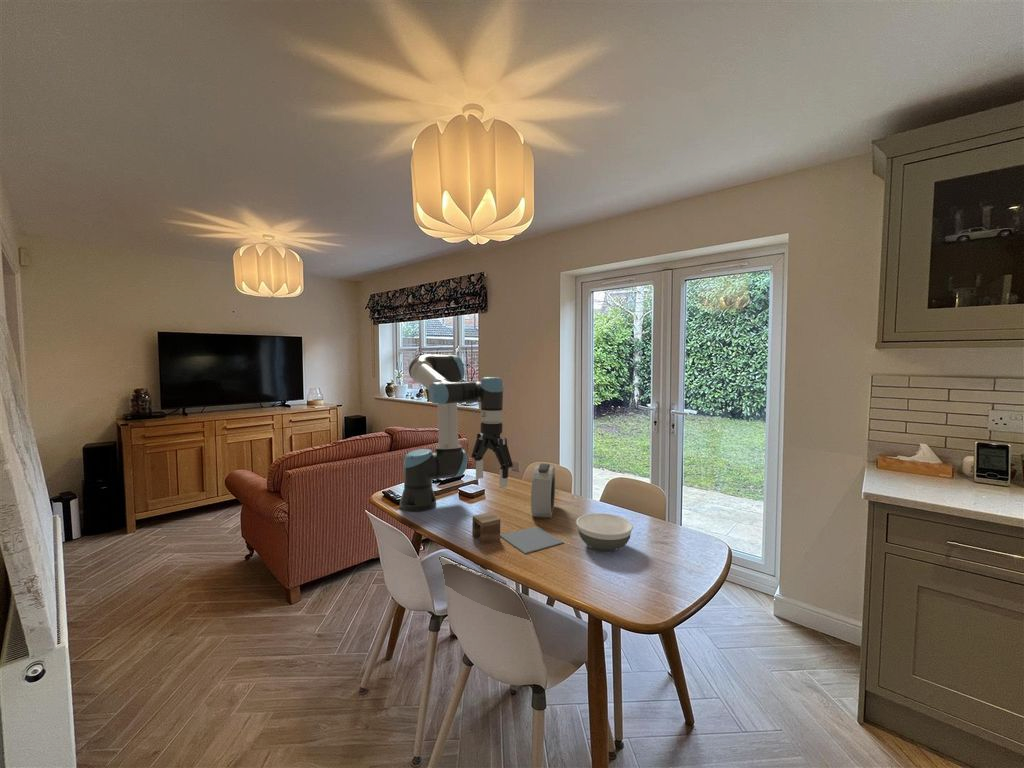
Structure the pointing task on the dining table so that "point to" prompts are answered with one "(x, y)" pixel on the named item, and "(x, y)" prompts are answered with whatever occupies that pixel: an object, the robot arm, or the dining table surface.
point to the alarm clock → (543, 491)
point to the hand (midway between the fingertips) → (491, 482)
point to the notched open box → (486, 528)
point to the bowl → (604, 531)
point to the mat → (531, 539)
